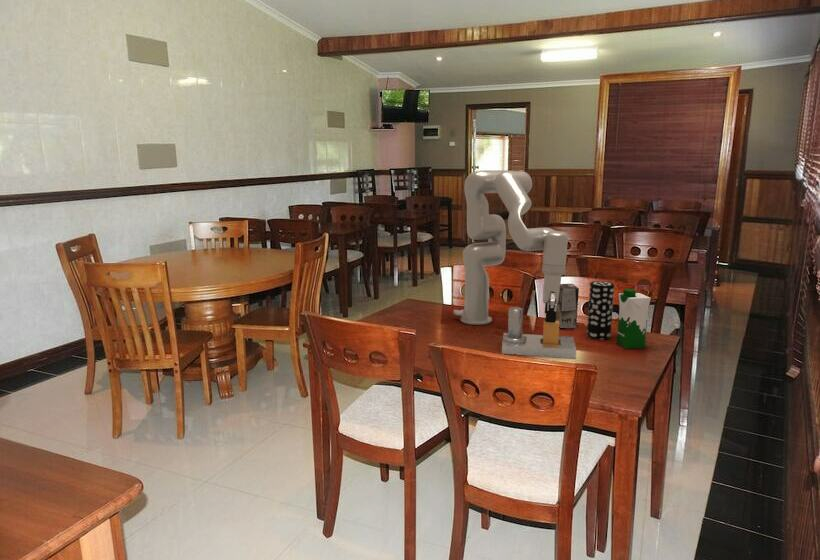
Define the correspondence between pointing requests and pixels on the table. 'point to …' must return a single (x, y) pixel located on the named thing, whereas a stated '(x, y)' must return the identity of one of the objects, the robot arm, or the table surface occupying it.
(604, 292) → the white-spotted black cylinder
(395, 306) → the table surface
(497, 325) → the table surface
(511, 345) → the grey base with post
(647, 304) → the milk carton
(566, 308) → the coffee box
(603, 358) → the table surface
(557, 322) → the tan upright block
